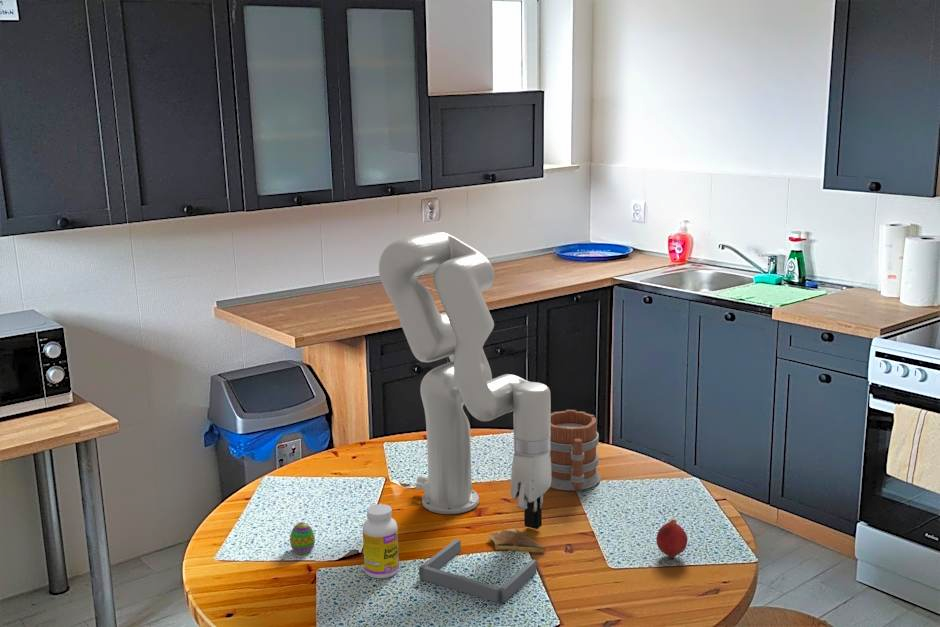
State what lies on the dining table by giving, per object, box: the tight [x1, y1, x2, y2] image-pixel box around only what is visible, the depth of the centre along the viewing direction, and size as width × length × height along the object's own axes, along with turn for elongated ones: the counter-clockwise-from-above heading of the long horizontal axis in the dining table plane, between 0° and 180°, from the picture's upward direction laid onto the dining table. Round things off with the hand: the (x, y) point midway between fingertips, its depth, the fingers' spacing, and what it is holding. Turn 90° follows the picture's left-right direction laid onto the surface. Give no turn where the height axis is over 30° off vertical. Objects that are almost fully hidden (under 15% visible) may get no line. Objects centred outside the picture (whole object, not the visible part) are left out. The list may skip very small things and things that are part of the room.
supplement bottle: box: [362, 503, 400, 579], centre depth 182 cm, size 7×7×13 cm
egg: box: [289, 521, 316, 555], centre depth 192 cm, size 5×5×6 cm
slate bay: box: [418, 538, 538, 605], centre depth 181 cm, size 18×13×2 cm
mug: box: [550, 409, 601, 492], centre depth 219 cm, size 14×19×15 cm
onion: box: [655, 518, 688, 559], centre depth 185 cm, size 6×6×8 cm
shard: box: [488, 528, 546, 553], centre depth 192 cm, size 11×8×2 cm
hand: (533, 526), depth 199 cm, fingers closed
